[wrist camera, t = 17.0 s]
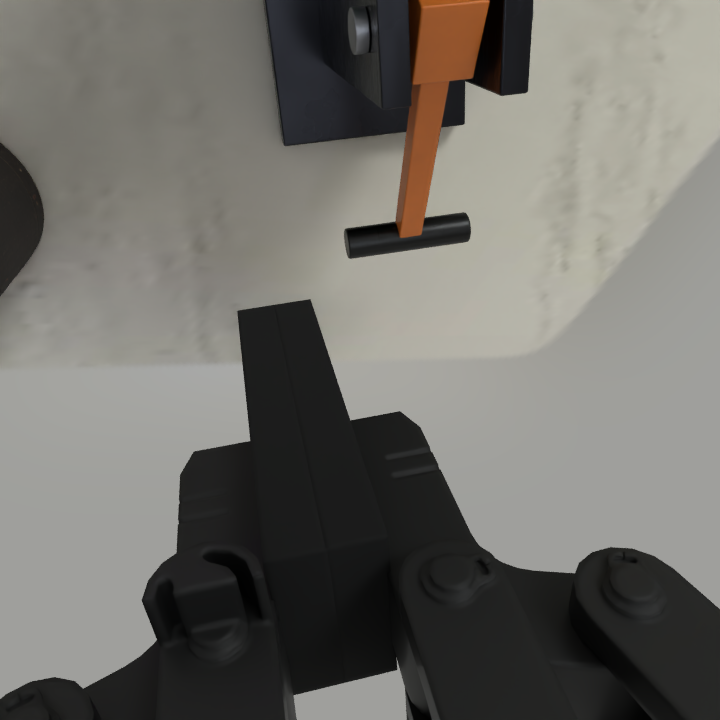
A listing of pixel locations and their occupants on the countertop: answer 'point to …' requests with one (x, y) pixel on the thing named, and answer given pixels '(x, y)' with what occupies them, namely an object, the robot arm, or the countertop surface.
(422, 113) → the switch lever
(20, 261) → the container
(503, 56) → the switch bracket
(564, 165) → the countertop surface
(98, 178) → the countertop surface
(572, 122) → the countertop surface
